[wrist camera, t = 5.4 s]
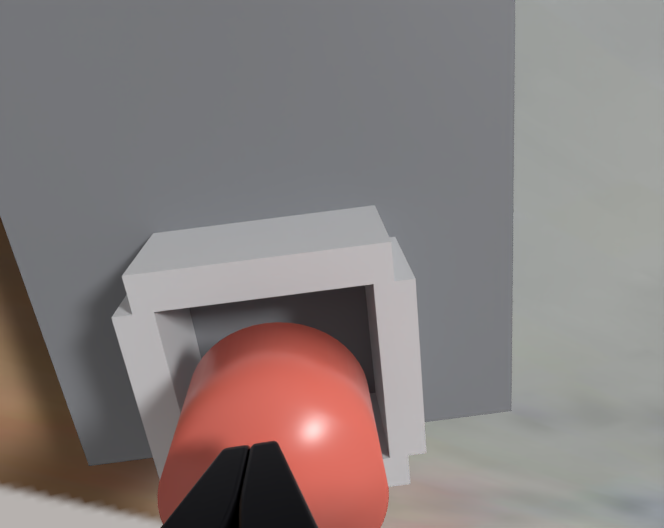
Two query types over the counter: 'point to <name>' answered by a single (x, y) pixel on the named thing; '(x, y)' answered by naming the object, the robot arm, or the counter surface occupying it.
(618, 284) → the counter surface
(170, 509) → the red plunger
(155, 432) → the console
